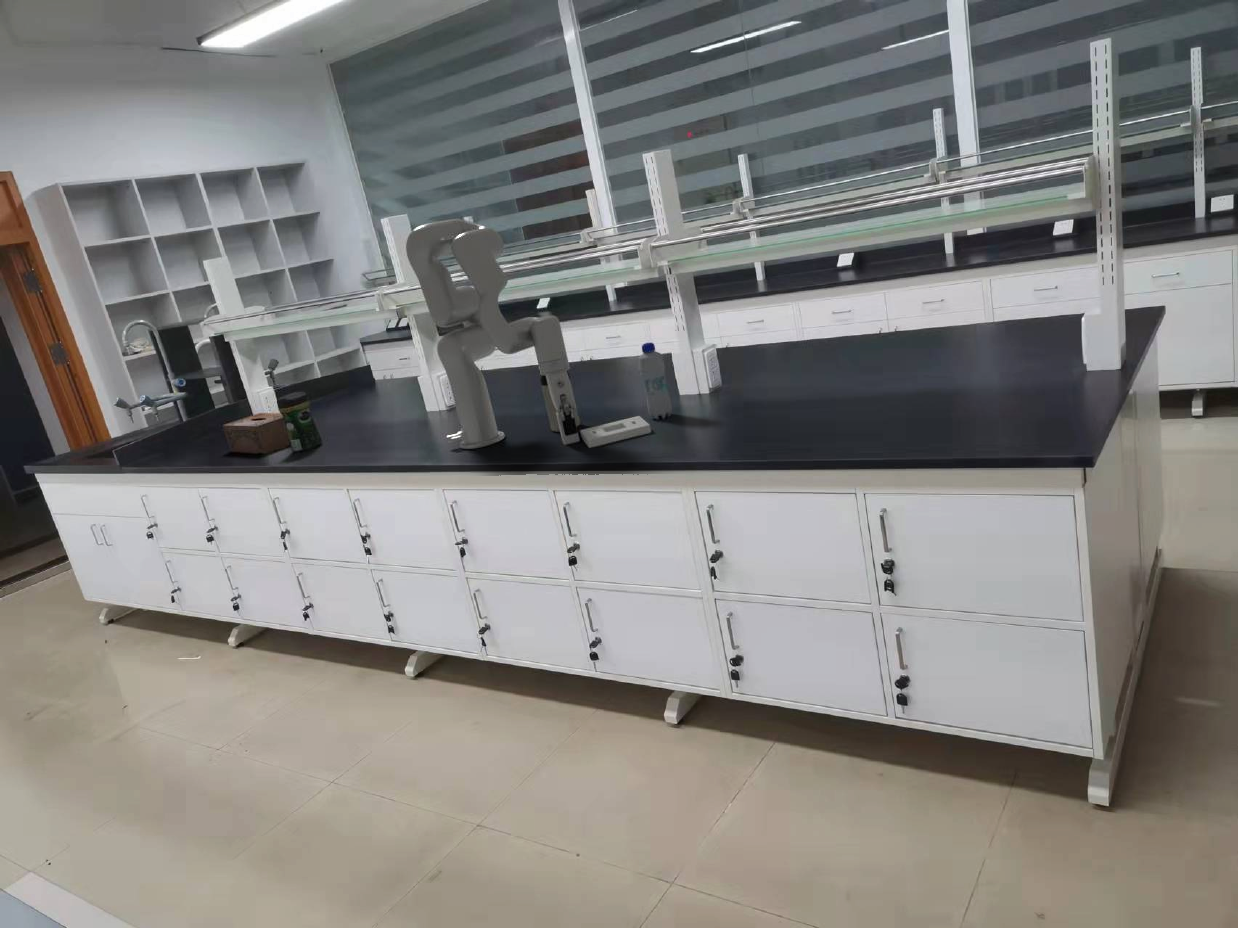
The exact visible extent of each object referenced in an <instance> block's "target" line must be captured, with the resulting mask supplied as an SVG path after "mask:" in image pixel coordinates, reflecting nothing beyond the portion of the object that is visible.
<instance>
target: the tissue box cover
mask: <svg viewBox="0 0 1238 928" xmlns="http://www.w3.org/2000/svg"><path fill="white" fill-rule="evenodd" d="M222 428H223V432H224V434H225V437H226V441H227V443H228V447H229V449H230V451H231V453H234V452H235V453H243V454H244V453H245V454H247V453H249V454H258V453H263V454H262V455H267V454H270V453H273V452H275V451H274V450H276V451H277V450H280V449H281V450H282V449H283V448H286V447H290V442H289V437H288V433H287V429H286V425H285V421H284V418H283V416H282V414H281V413H280V412H259V413H256V414H253V415H250V416H247V417H244V418H241V419H237V420H235V421H232V422H229V423H225V424H222ZM266 453H267V454H266Z"/></svg>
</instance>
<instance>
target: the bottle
mask: <svg viewBox="0 0 1238 928" xmlns="http://www.w3.org/2000/svg"><path fill="white" fill-rule="evenodd" d="M641 351H642V354H640V356H638V368H639V369H638V370H639V371H640V372H639V373H640V376H641V377H642V378H641V379H642V381H643V382H642V383H643V387H644V388H643V389H644V394H645V398H646V404H647V412H648V414H649V417H650V418H651V419H652V420H659V419H660V417H659V416H661V418H662V419H666V417H668V418H669V417H670V416H671V415H672V411H673V408H672V407H673V406H672V402H671V397H670V394H669V389H668V384H667V378H666V374H665V372H666V366H665V362H664V360H663V355H662V353H661V352H658V351H656V346H655V344H654V343H653V342H646V343H643V344H641Z"/></svg>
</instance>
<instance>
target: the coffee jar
mask: <svg viewBox="0 0 1238 928" xmlns="http://www.w3.org/2000/svg"><path fill="white" fill-rule="evenodd" d="M276 404H277V408H278V409H277V410H278V411H279V412H278V413H281V414H282V416H283V418H284V421H285V425H286V429H287V433H288V437H289V442H290V445H289V447H290V449H291V451H292V452H295V453H300V452H304V451H309V450H312V449H314V448H316V447H318V446H321V444H322V443H323V440H322V437H321V434H320V432H319V430H318V428H317V425H316V422H315V419H314V418H313V415H312V412H311V409H310V399H309V398H308V396H307V394H306V392H305V391H295V392H291V393H288V394H286V395H283V396H282V397H278V398H277V399H276Z"/></svg>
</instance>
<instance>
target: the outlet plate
mask: <svg viewBox="0 0 1238 928" xmlns="http://www.w3.org/2000/svg"><path fill="white" fill-rule="evenodd" d="M579 432H580V436H581V439H582V440H583V442H584V443H585V445H587V447H588V448H589V449H590V448H595V447H598V446H602V445H607V444H610V443H615V442H618V441H622V440H627V439H630V438H634V437H640V436H643V435H646V434H651V433H652V430H651V425H650V424H649V423H648V422H647V421H646V420H645V419H644V418H642V417H641V416H640V415H637V416H633V417H628V418H625V419H621V420H616V421H613V422H609V423H605V424H601V425H597V426H592V427H588V428H584V429H580V430H579Z"/></svg>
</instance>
